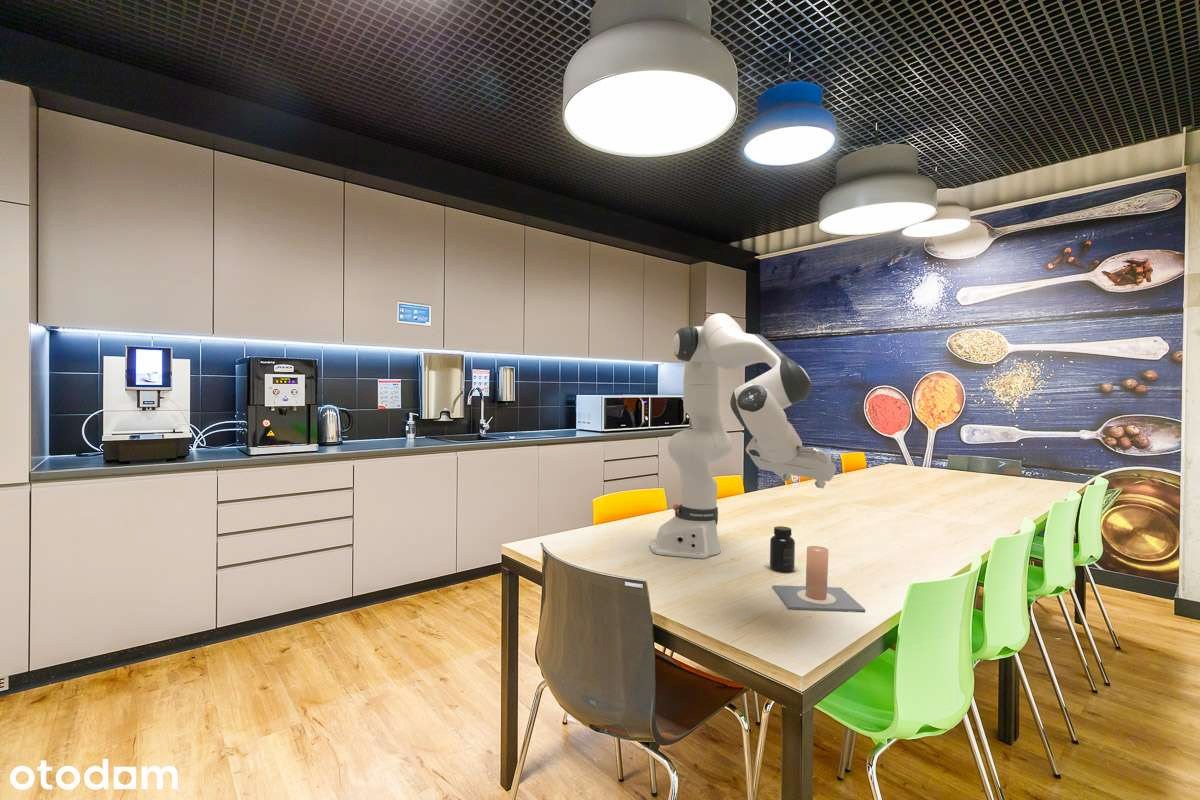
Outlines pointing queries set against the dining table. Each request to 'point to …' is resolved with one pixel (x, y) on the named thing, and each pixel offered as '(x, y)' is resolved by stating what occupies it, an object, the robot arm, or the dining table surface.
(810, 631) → the dining table surface
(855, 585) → the dining table surface
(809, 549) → the terracotta tube
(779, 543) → the supplement bottle
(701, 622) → the dining table surface
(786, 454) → the robot arm
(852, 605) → the card
